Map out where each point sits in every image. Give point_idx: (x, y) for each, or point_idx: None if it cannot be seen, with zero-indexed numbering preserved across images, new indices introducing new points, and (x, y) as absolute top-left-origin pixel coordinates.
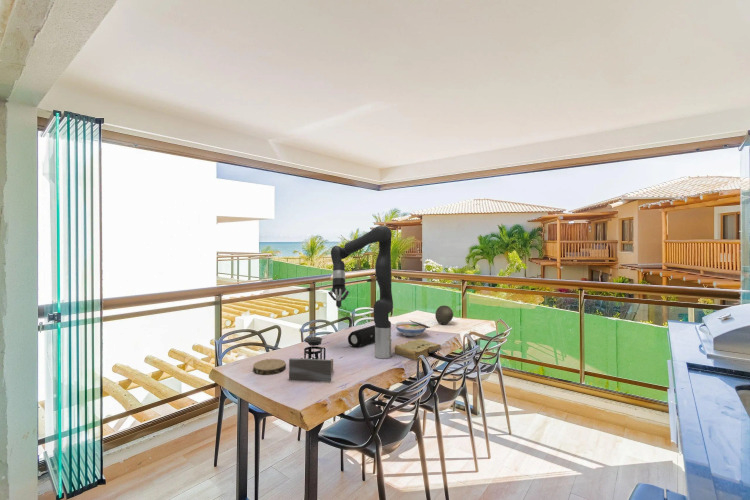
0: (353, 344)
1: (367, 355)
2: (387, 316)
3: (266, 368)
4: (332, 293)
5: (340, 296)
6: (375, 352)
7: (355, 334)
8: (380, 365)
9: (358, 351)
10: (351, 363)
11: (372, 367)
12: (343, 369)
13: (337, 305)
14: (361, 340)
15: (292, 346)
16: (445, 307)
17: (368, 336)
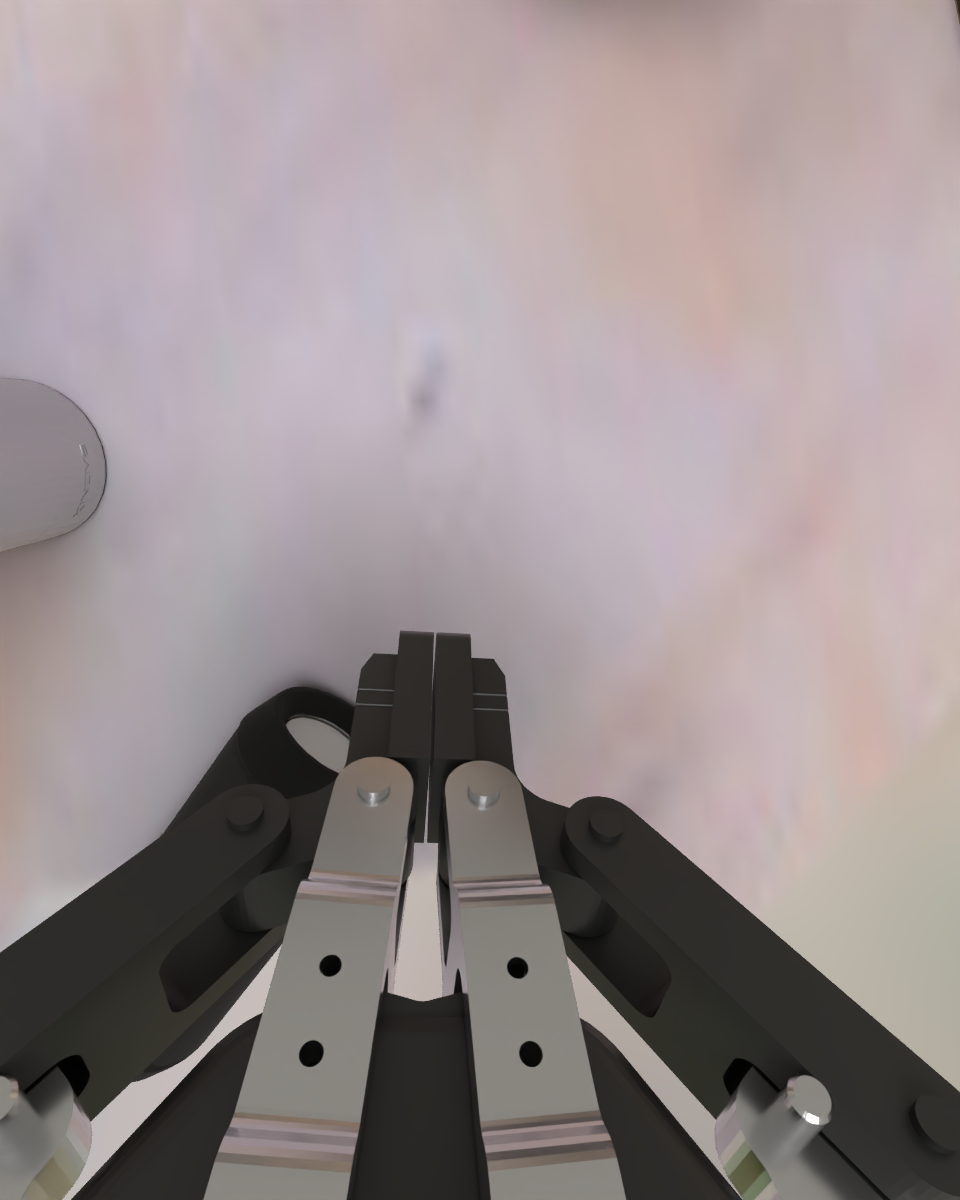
0: (342, 721)
1: (178, 473)
2: None
3: None
4: (738, 1113)
5: (328, 882)
6: (65, 424)
7: (289, 747)
8: (2, 168)
9: (282, 589)
10: (298, 210)
11: (71, 97)
12: (352, 7)
13: (461, 653)
14: (242, 720)
15: (943, 701)
16: None
17: (175, 818)
